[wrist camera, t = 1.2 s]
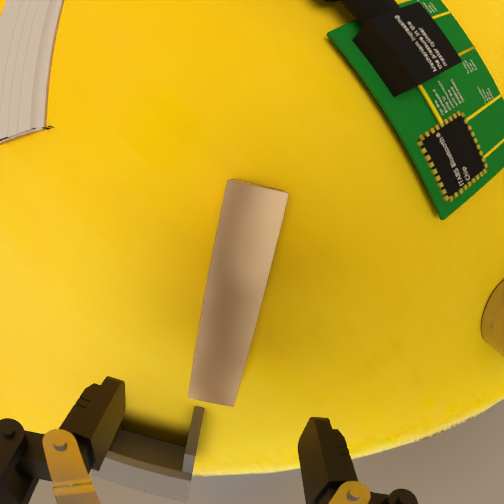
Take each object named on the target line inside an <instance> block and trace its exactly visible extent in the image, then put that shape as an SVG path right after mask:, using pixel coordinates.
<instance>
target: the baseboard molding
mask: <svg viewBox="0 0 504 504" xmlns="http://www.w3.org/2000/svg"><path fill="white" fill-rule="evenodd" d="M63 3H64V0H6V3H5V6H4V9H3V12H2V15H1V18H0V145H1V144H4V143H6V142H9V141H12V140H15V139H18V138H21V137H24V136H27V135H30V134H33V133H36V132H39V131H42V130H46V129H51V128H46V121H47V103H48V91H49V81H50V72H51V64H52V57H53V51H54V45H55V39H56V34H57V29H58V24H59V20H60V15H61V11H62V7H63ZM48 127H50V126H48ZM53 128H54V127H53Z"/></svg>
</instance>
